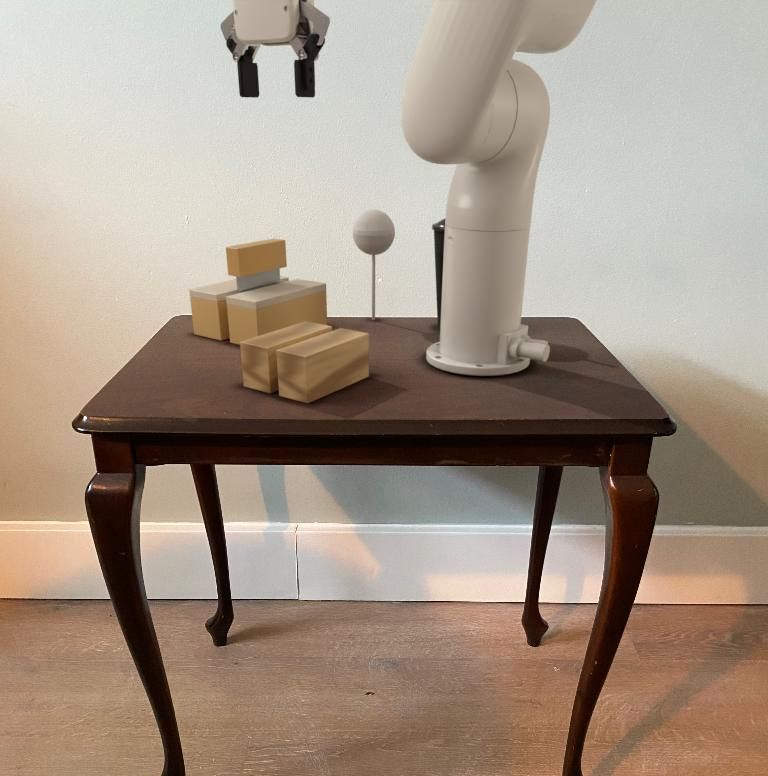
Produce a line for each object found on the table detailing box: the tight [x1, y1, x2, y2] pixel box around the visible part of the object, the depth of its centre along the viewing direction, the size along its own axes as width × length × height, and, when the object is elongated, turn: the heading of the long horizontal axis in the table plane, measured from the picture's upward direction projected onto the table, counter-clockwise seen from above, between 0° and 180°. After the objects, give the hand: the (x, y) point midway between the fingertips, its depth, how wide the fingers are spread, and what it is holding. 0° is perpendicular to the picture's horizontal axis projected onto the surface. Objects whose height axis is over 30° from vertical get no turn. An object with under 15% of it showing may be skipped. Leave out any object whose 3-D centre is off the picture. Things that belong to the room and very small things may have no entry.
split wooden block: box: [239, 321, 370, 404], centre depth 81 cm, size 9×11×5 cm
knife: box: [225, 238, 288, 293], centre depth 98 cm, size 2×9×12 cm, turn 146°
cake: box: [188, 275, 328, 346], centre depth 100 cm, size 12×14×6 cm
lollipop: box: [351, 209, 396, 321], centre depth 103 cm, size 6×6×15 cm
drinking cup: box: [431, 217, 446, 330], centre depth 98 cm, size 8×8×20 cm
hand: (276, 97), depth 96 cm, fingers open, 9 cm apart
